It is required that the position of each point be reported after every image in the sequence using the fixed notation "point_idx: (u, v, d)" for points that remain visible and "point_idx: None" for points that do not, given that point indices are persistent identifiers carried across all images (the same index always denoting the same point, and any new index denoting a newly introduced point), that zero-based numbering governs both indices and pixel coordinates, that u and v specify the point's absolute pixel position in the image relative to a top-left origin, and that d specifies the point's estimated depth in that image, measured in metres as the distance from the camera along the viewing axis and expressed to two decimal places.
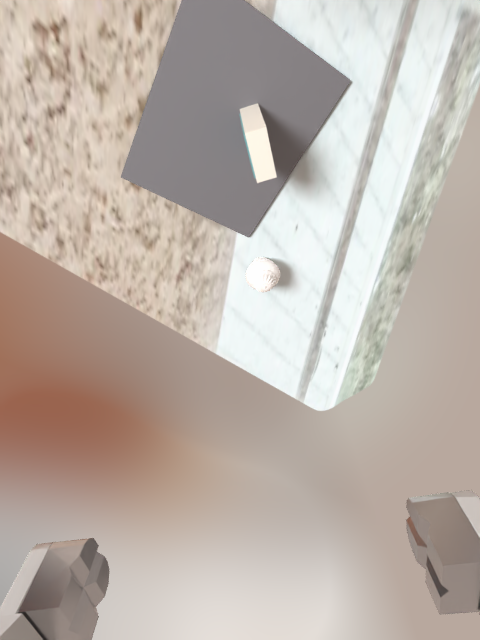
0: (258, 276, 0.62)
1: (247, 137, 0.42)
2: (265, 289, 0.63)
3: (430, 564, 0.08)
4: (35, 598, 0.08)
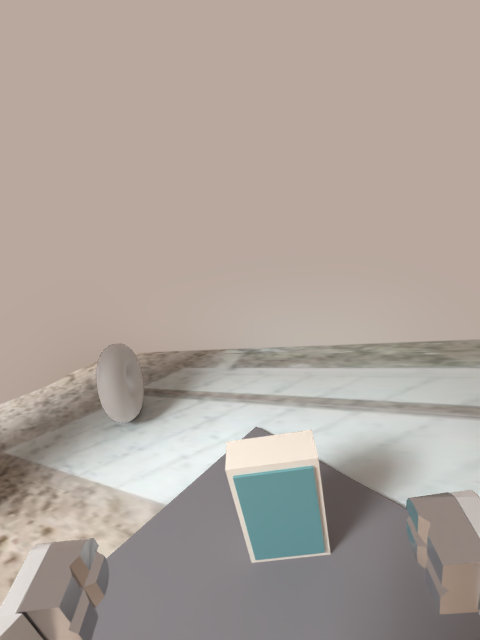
0: None
1: (232, 466, 0.24)
2: None
3: (430, 564, 0.08)
4: (35, 598, 0.08)
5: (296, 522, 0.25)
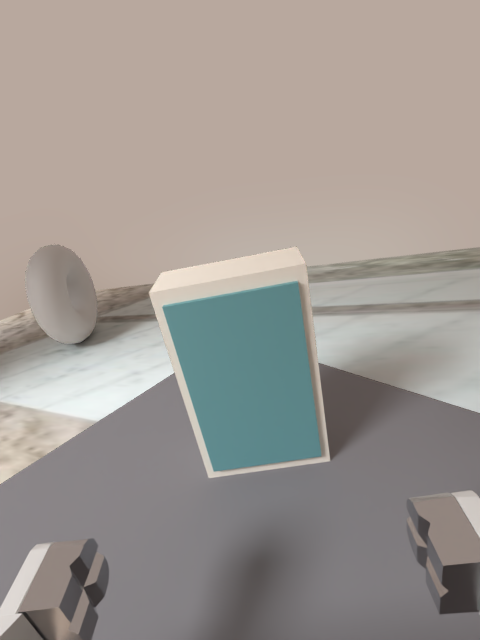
0: None
1: (162, 288, 0.14)
2: None
3: (430, 564, 0.08)
4: (35, 598, 0.08)
5: (273, 398, 0.16)
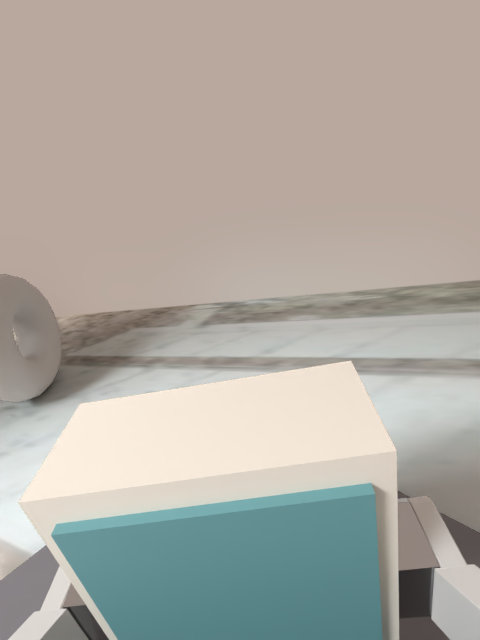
0: None
1: (52, 489, 0.06)
2: None
3: None
4: None
5: None
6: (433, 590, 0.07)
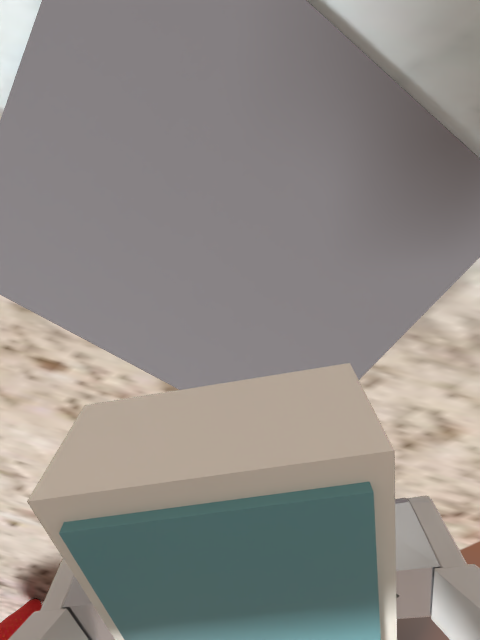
0: None
1: (60, 488, 0.06)
2: None
3: None
4: (78, 593, 0.08)
5: None
6: (433, 590, 0.07)
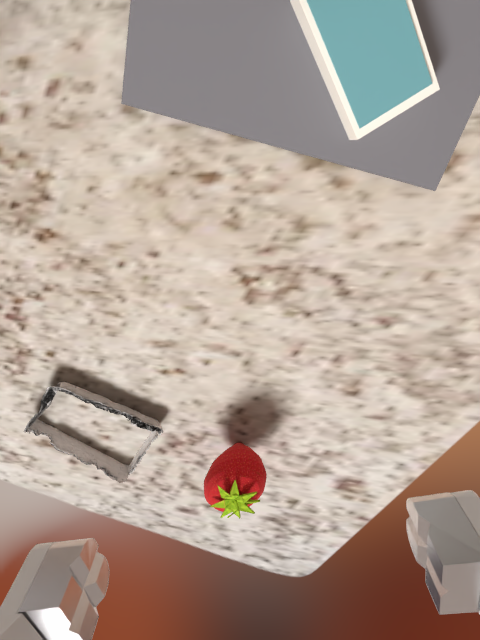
0: None
1: None
2: None
3: (430, 564, 0.08)
4: (35, 598, 0.08)
5: (387, 40, 0.24)
6: None
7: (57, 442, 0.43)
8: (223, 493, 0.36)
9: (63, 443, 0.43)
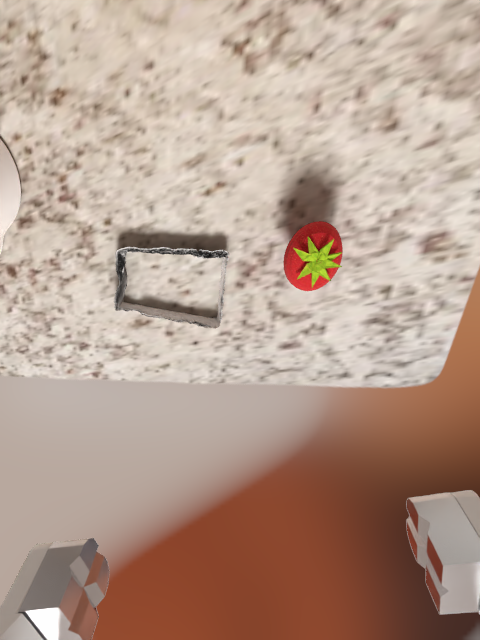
0: None
1: None
2: None
3: (430, 564, 0.08)
4: (35, 598, 0.08)
5: None
6: None
7: (147, 312, 0.46)
8: (302, 254, 0.36)
9: (152, 312, 0.46)
